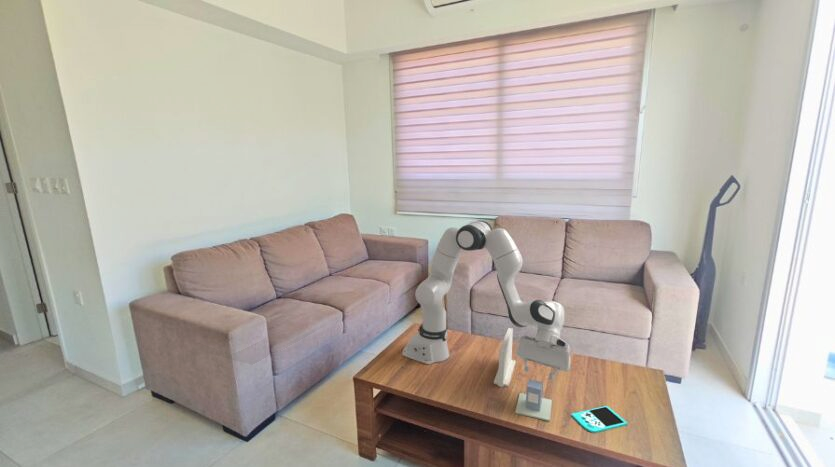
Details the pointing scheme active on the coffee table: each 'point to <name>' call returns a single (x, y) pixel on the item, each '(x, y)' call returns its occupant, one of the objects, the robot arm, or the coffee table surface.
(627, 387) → the coffee table surface
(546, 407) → the sage mat
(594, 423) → the handheld game console
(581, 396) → the coffee table surface
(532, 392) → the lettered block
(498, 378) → the screen
